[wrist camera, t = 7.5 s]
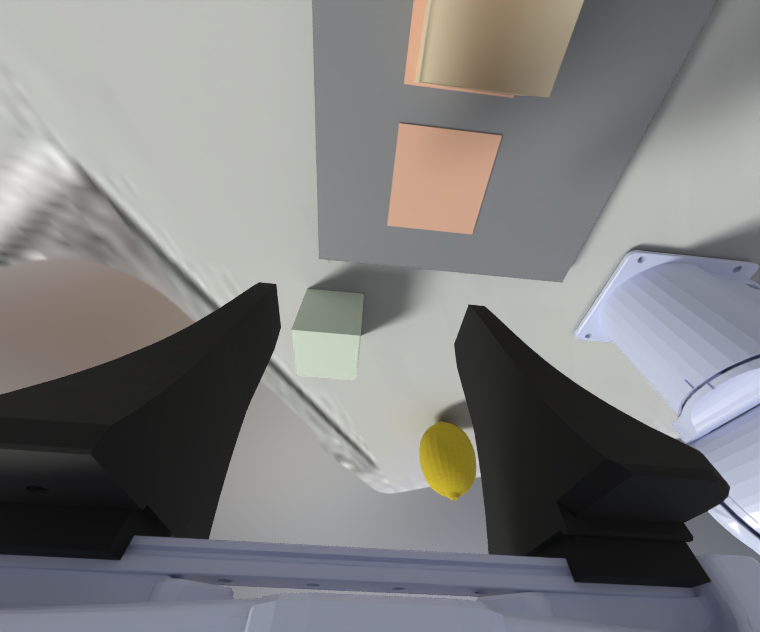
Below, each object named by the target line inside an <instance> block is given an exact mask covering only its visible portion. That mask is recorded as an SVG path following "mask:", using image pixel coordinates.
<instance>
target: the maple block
mask: <svg viewBox="0 0 760 632" xmlns="http://www.w3.org/2000/svg"><path fill="white" fill-rule="evenodd" d="M583 2H584V0H426V4H425V12H424V19H423V26H422V34H421V41H420V49H419V56H418V63H417V71H416V78H415V83H421V84H428V85H436V86H444V87H452V88H460V89H468V90H475V91H483V92H491V93H499V94H508V95H522V96H536V97H549V96H550V93H551V91H552V88H553V85H554V82H555V80H556V77H557V74H558V71H559V68H560V66H561V63H562V60H563V57H564V55H565V52H566V49H567V46H568V43H569V41H570V38H571V35H572V32H573V30H574V27H575V24H576V21H577V18H578V16H579V13H580V10H581V7H582V5H583Z"/></svg>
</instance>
